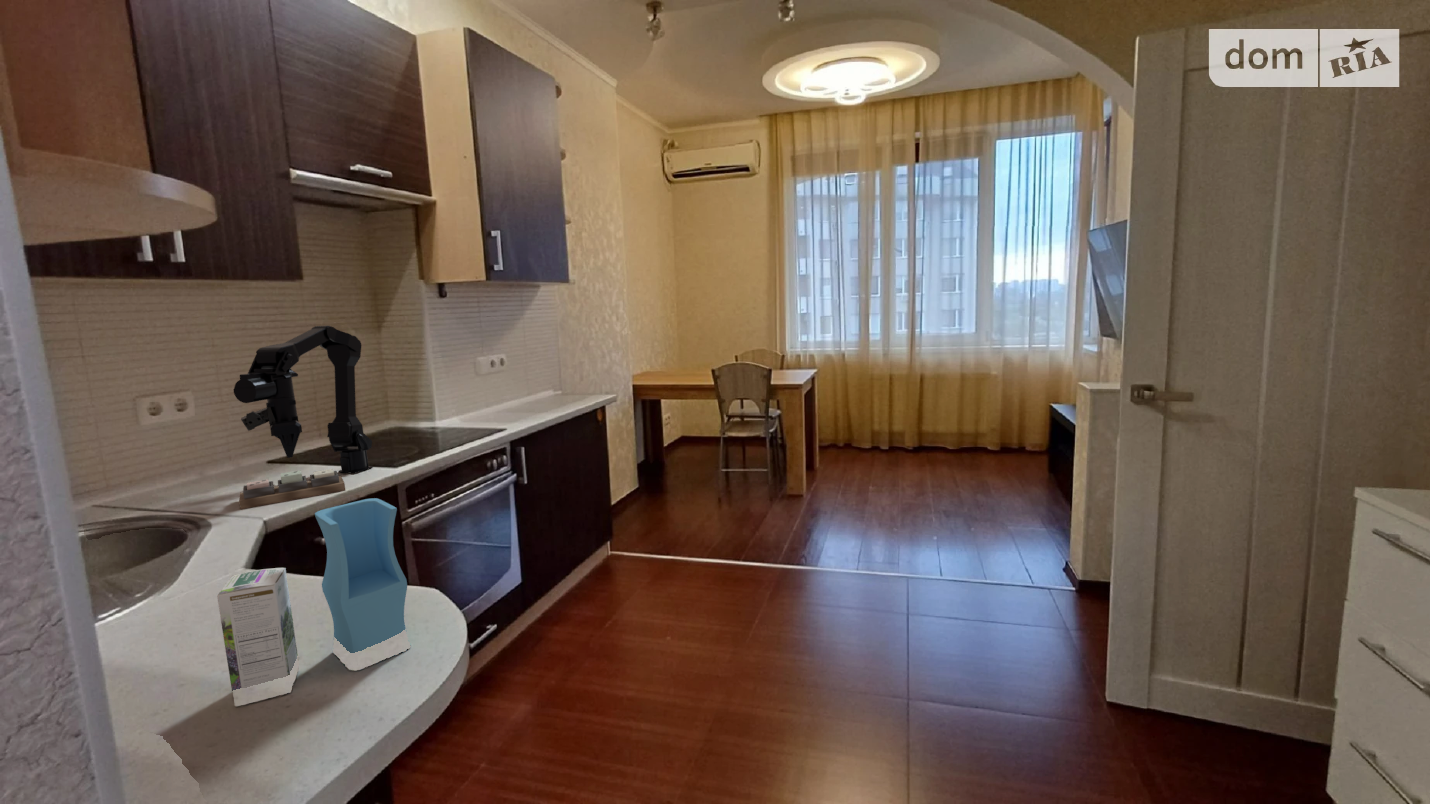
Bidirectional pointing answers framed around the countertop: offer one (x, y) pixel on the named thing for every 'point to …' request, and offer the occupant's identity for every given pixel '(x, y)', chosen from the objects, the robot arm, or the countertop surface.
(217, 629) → the countertop surface
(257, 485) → the tile three
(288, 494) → the digit board
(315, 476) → the tile one
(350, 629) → the blue tall chair-shaped block
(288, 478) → the tile two
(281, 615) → the syrup box
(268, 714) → the countertop surface
